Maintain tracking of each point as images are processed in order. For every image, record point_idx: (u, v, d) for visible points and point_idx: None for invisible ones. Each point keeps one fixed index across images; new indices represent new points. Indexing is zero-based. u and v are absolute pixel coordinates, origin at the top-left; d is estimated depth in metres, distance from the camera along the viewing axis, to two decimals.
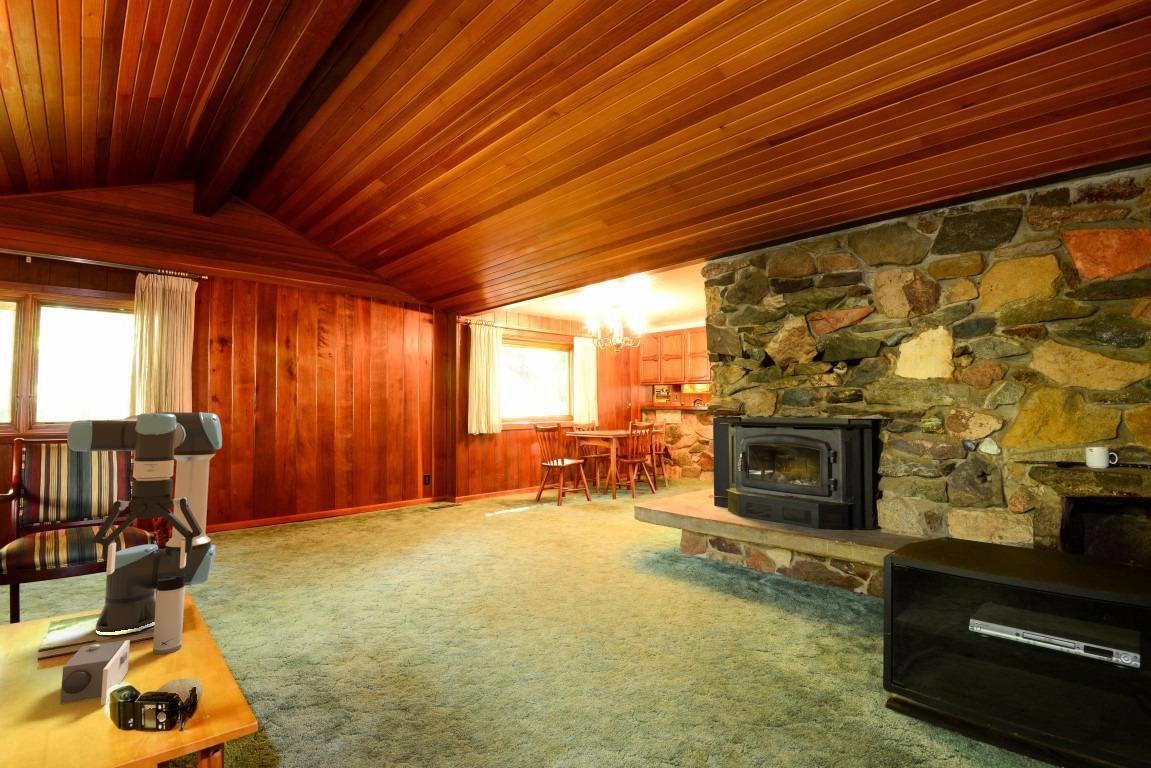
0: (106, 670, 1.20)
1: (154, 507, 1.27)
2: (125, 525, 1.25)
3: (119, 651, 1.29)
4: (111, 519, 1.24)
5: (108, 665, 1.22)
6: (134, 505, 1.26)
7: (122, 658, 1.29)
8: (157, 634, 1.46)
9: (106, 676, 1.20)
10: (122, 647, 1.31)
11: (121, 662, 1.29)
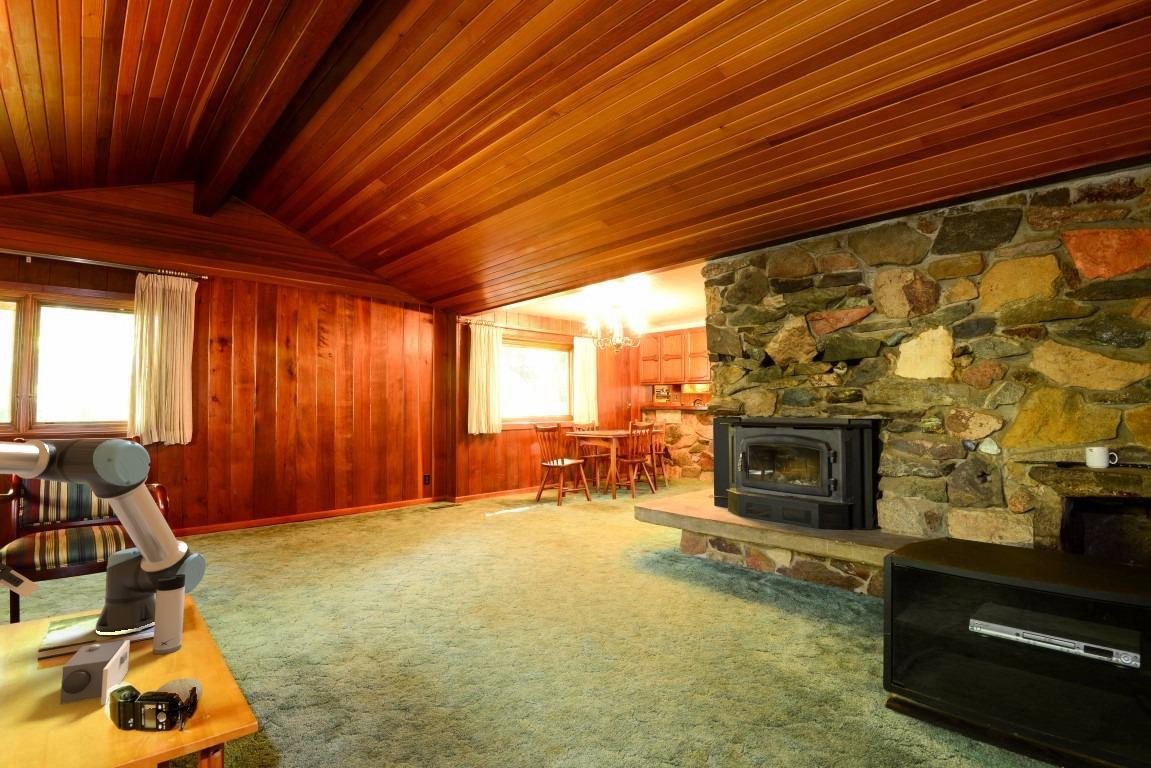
0: (106, 670, 1.20)
1: None
2: None
3: (119, 651, 1.29)
4: None
5: (108, 665, 1.22)
6: None
7: (122, 658, 1.29)
8: (157, 634, 1.46)
9: (106, 676, 1.20)
10: (122, 647, 1.31)
11: (121, 662, 1.29)
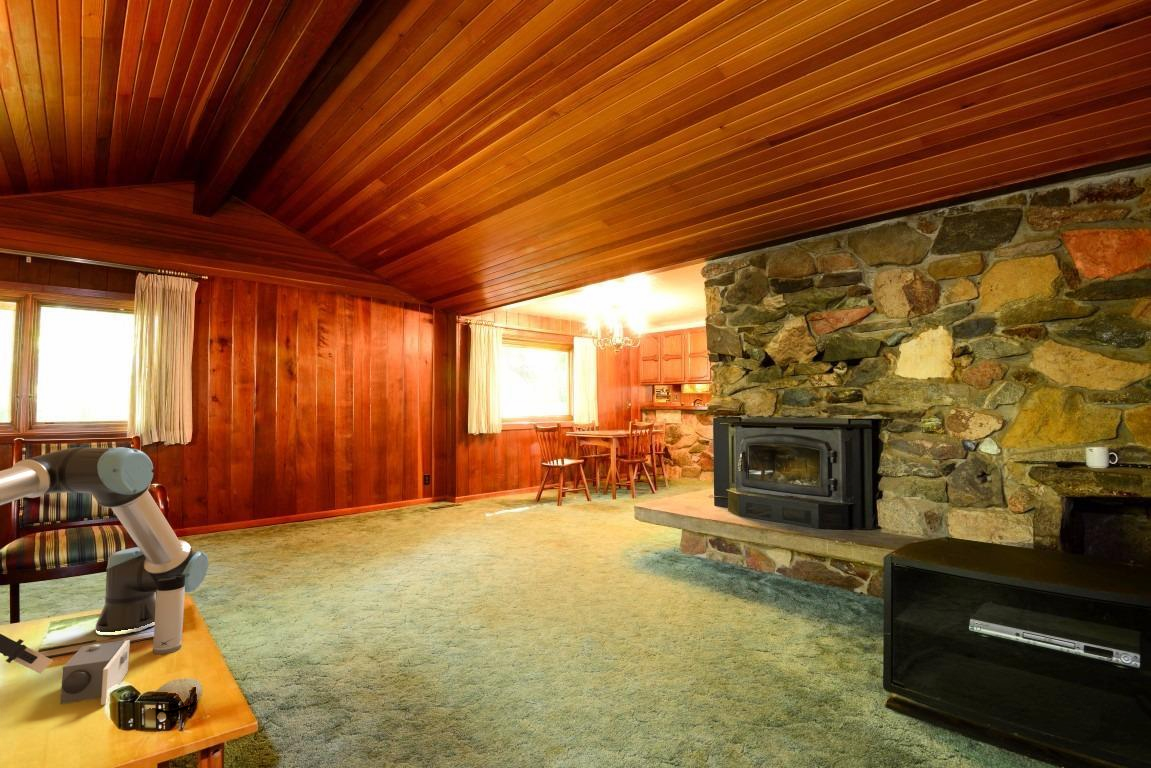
0: (106, 670, 1.20)
1: None
2: None
3: (119, 651, 1.29)
4: None
5: (108, 665, 1.22)
6: None
7: (122, 658, 1.29)
8: (157, 634, 1.46)
9: (106, 676, 1.20)
10: (122, 647, 1.31)
11: (121, 662, 1.29)
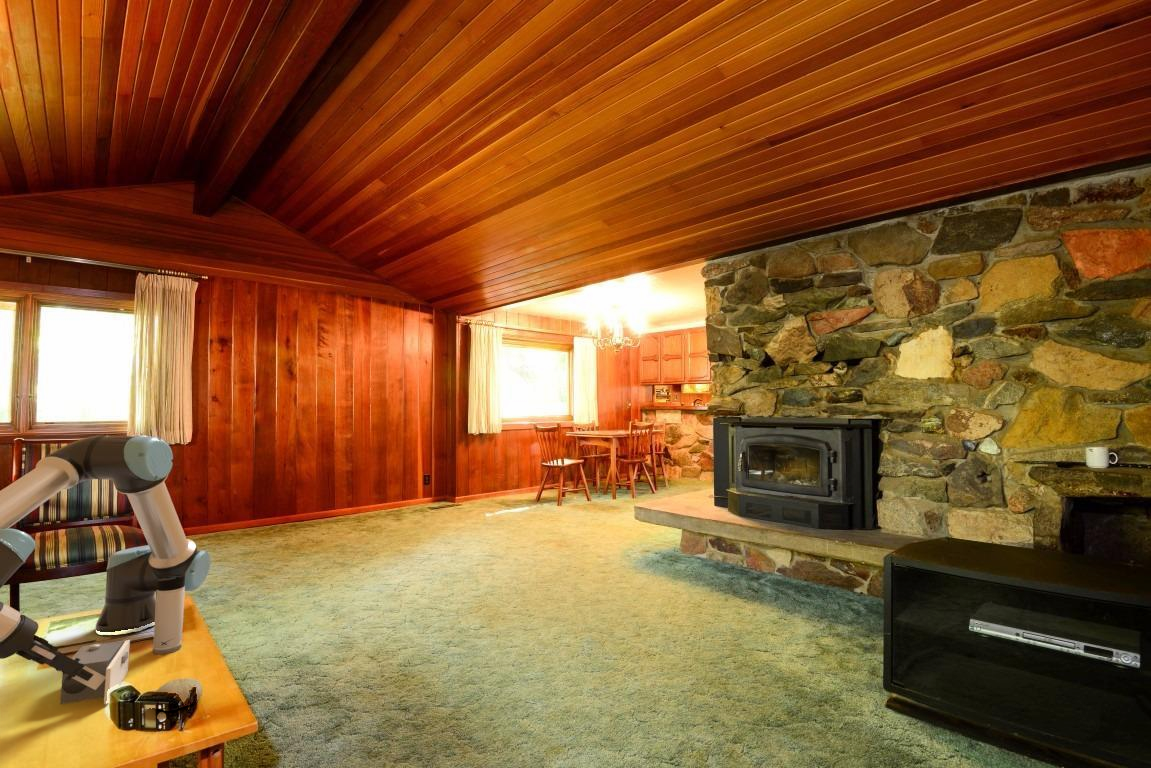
0: (109, 670, 1.20)
1: (22, 656, 1.09)
2: None
3: (120, 651, 1.29)
4: None
5: (111, 665, 1.22)
6: None
7: (123, 658, 1.29)
8: (157, 634, 1.46)
9: (109, 675, 1.20)
10: (123, 647, 1.31)
11: (122, 662, 1.29)
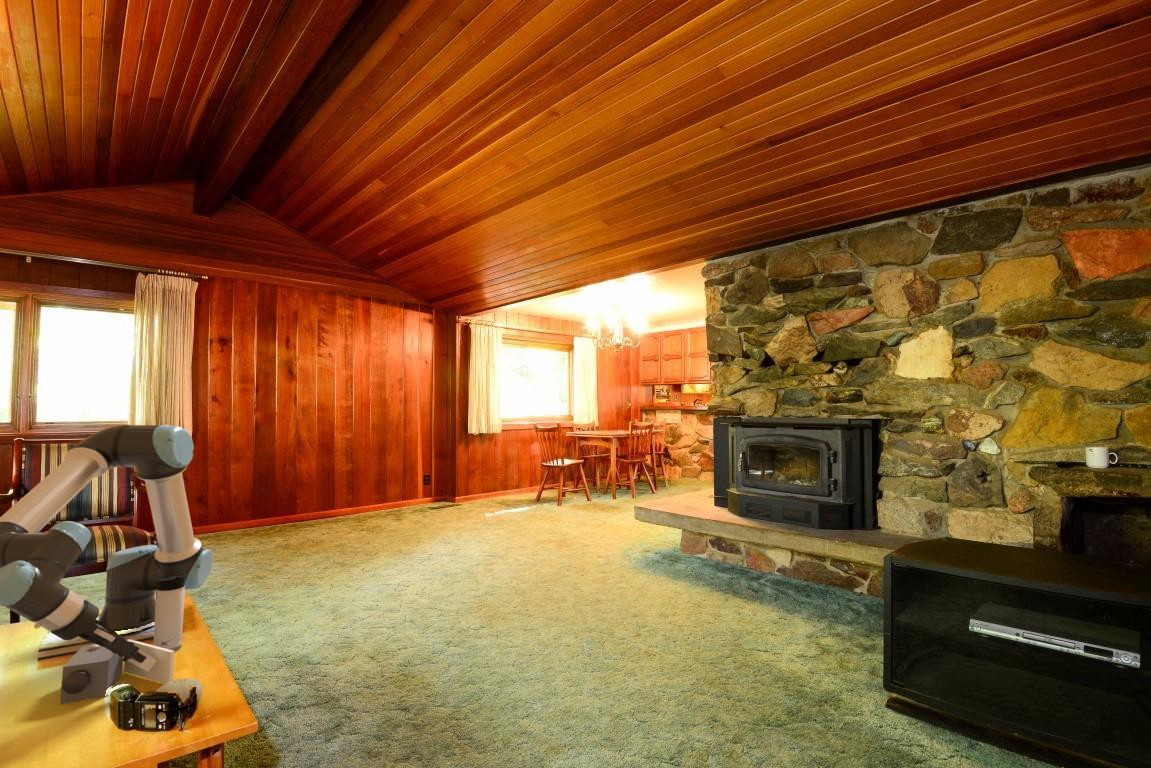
0: (173, 652, 1.29)
1: (85, 639, 1.17)
2: None
3: (146, 644, 1.33)
4: None
5: (167, 650, 1.30)
6: None
7: None
8: (157, 634, 1.46)
9: (173, 658, 1.29)
10: (140, 642, 1.34)
11: None
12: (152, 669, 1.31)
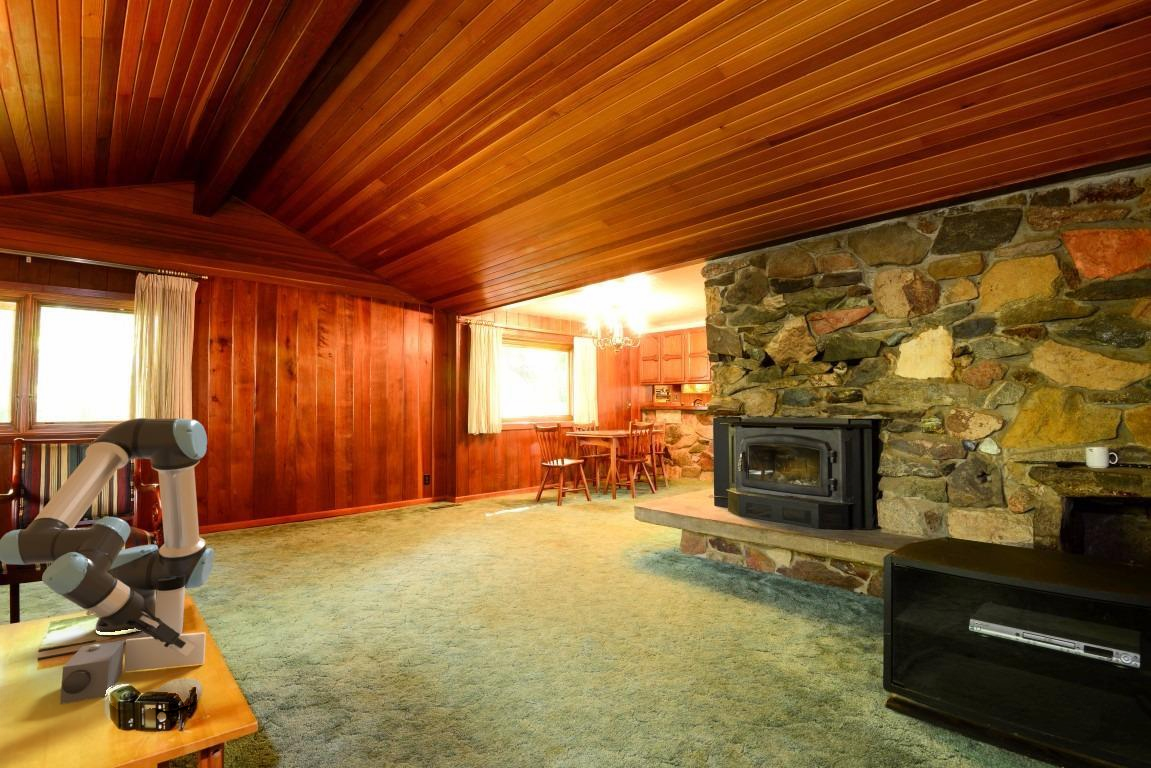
0: (205, 633, 1.41)
1: (131, 625, 1.26)
2: (146, 631, 1.30)
3: None
4: None
5: (196, 633, 1.40)
6: None
7: None
8: None
9: None
10: (149, 637, 1.37)
11: None
12: (175, 656, 1.38)
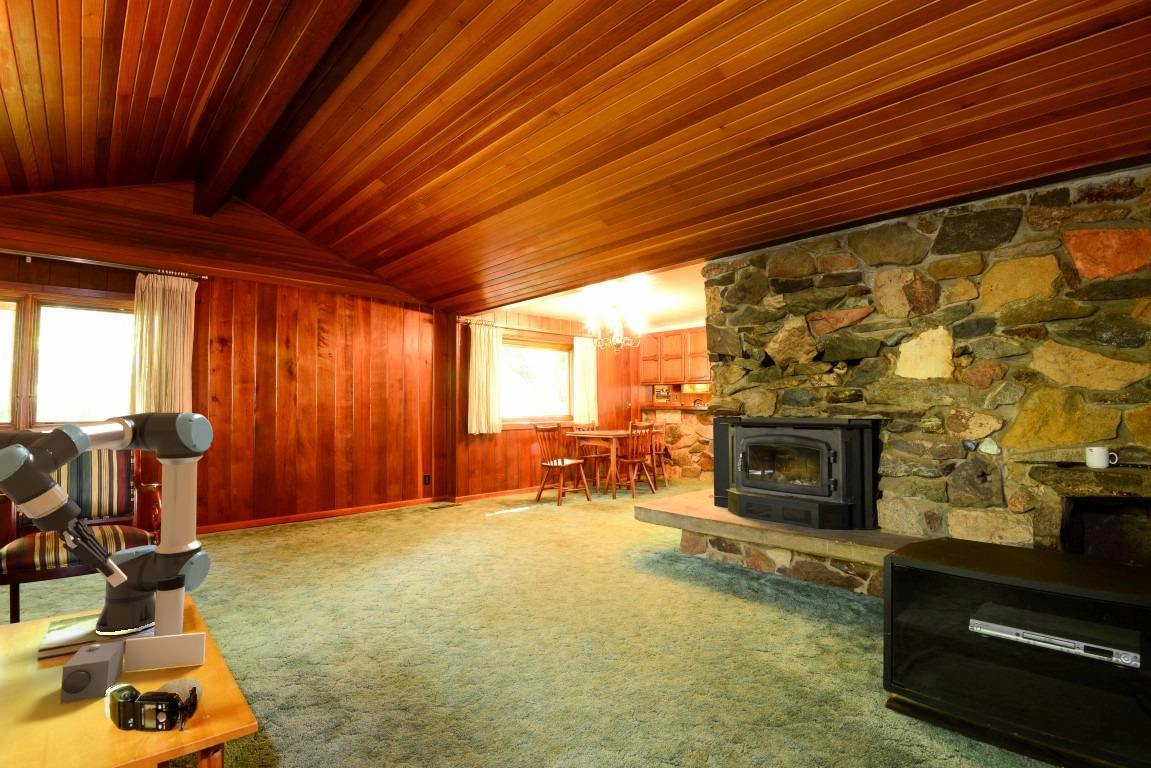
0: (205, 633, 1.41)
1: None
2: None
3: (160, 636, 1.38)
4: None
5: (196, 633, 1.40)
6: None
7: None
8: (157, 634, 1.46)
9: None
10: (149, 637, 1.37)
11: None
12: (175, 656, 1.38)
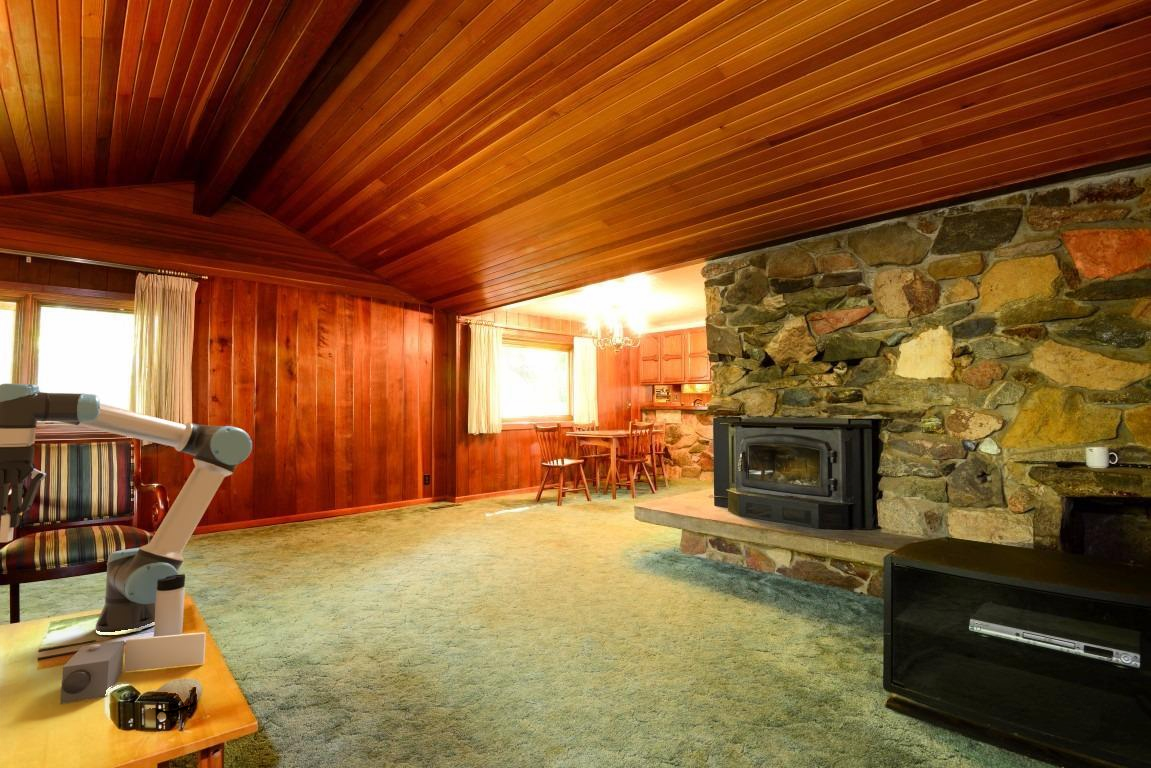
0: (205, 633, 1.41)
1: None
2: None
3: (160, 636, 1.38)
4: None
5: (196, 633, 1.40)
6: None
7: None
8: (157, 634, 1.46)
9: None
10: (149, 637, 1.37)
11: None
12: (175, 656, 1.38)
